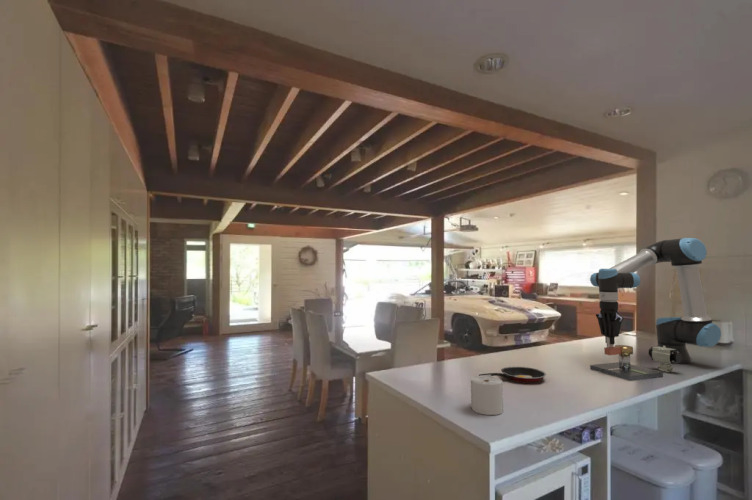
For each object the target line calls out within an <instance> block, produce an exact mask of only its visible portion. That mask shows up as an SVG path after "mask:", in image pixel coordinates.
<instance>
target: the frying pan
mask: <svg viewBox="0 0 752 500" xmlns="http://www.w3.org/2000/svg"><path fill="white" fill-rule="evenodd" d="M500 371H501V372H490V373H481V374H478V376H480V375H491V377H495V376H497V377H503V378H507V379H508V380H510V381H512V382H515V383H522V384H536V383H539V382H541V381H542V380H543V379H544V378H545V377H546V376H547V373H546V372H545V371H544V370H541V369H538V368H533V367H528V366H506V367H503V368H501V369H500Z"/></svg>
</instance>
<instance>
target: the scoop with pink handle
mask: <svg viewBox="0 0 752 500" xmlns="http://www.w3.org/2000/svg"><path fill="white" fill-rule="evenodd" d="M603 348H604V349H603V350H604V355H608V356H614V355H615V356H617V355H619V354H630V355H633V354H634V347H633V346H630V345H625V344H614V347H607V346H606V347H603Z"/></svg>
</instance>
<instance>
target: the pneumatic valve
mask: <svg viewBox="0 0 752 500" xmlns="http://www.w3.org/2000/svg"><path fill="white" fill-rule="evenodd" d="M648 356H649V357H650V358H651V360H652V361H657V362H659V363H658V365H657V367H658V371H660V372H663V373H672V372H674V367H673V365H675V364H678V363H679V362H680V361H681V359H682V357H681V354H680V353H679V352H678V350H676V349H671V348H665V346H663V347H659V346H651V347H650V348H649V349H648Z"/></svg>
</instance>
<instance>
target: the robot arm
mask: <svg viewBox="0 0 752 500" xmlns="http://www.w3.org/2000/svg"><path fill="white" fill-rule="evenodd" d="M707 254H708V251H707V247H706V245H705V244H704V243H703V242H702V241H701V240H700V239H699V238H694V237H683V238H676V239H675V238H674V239H665V240H660V241H658V242H654V243H652V244H650V245H648V246H646V247H644V248H642V249H641V250H639V252H638V253H637V254H635V255H633V256H631V257H629V258H626V259H625V260H623V261H621V262H618V264H615V265H614V266H611V267H610V268H599V270H598V272H594V273H592V274H591V275H590V277H589V281H590V283H591V285H592V286H593V287H595V288H596V287H597V288H598V296H599V300H600V301H599V304H598V305H599V309H600V311H599V313H596V314H595V317H596V319H597V322H598V327H599V331H600V334H601V335H603V336H604V337H605V344H606V347H615V345H616V344H615V341H616V340H615V338H617V337H619V336H620V332H621V328H622V322H623V321H624V316H623V317H622V316H620V315H619V312H618V310H619V302H618V301H619V290H618V289H632V288H633V289H635V288H637V287H639V286H640V284H641V277H640V275H639V274H638V273H637V272H638V271H640V270H642V269H644V268H646V267H648V266H654V265H656V264H658V263H659V264H660V263H670V265H671V267H673V268H674V269H675V270H676V275H677V281H678V287H679V295H680V299H681V306H682V311H683V316H682V317H681V316H676V317H675V316H669V317H658V318H656V322H655V324H656V325H655V326H656V339H657V340H656V341H657V346H659V347H663V346H665V348H671V349H676V350H678V352H679V353H680V354H681V357H682V359H681V361H680V362H679V363H677V364H678V365H679V364H680V365H681V364H682V365H683V364H685V365H686V364H687V365H688V364H692V357H691V356H690V353H689V350H688V349H687V345H693V346H698V347H705V348H711V347H714V346H716V345H717V344H718V343H719V342H720V340H721V337H722V330H721V327H720V326H719V325H717V324H716V323H713V319H712V317H710V316H709V315H708V313H707V307H706V302H705V297H704V292H703V291H704V290H703V287H702V281H701V273H700V269H699V268H700V266H701V265H702V264H703V262H702V261H703V260H705V259H706V257H707Z"/></svg>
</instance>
